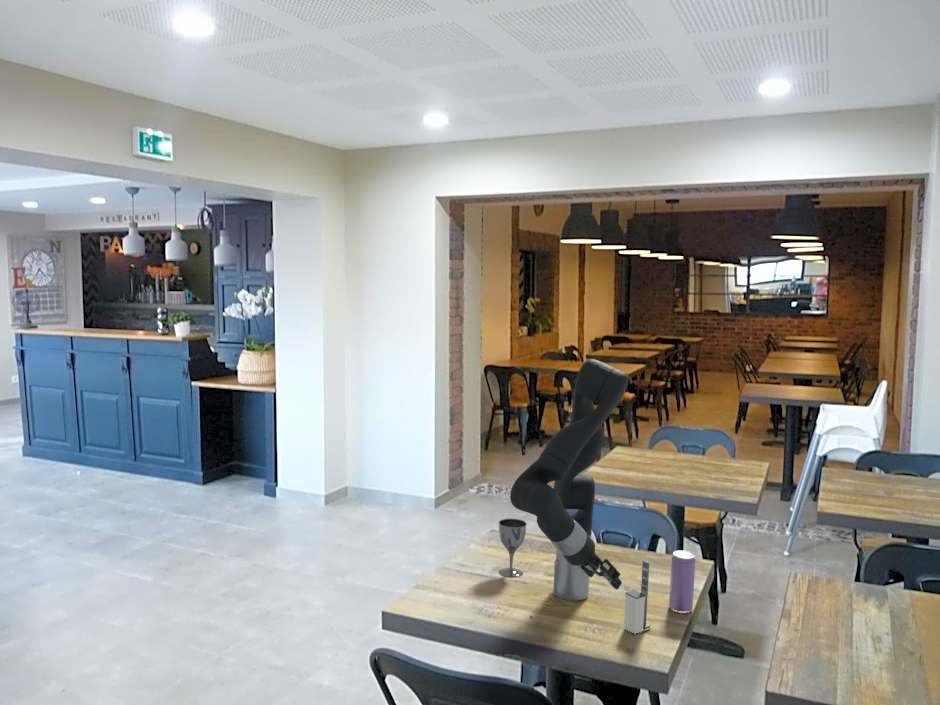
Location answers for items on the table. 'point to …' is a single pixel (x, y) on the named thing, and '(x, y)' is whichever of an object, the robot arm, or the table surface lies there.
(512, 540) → the wine glass
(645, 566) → the rail
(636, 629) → the fader knob
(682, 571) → the beverage can
